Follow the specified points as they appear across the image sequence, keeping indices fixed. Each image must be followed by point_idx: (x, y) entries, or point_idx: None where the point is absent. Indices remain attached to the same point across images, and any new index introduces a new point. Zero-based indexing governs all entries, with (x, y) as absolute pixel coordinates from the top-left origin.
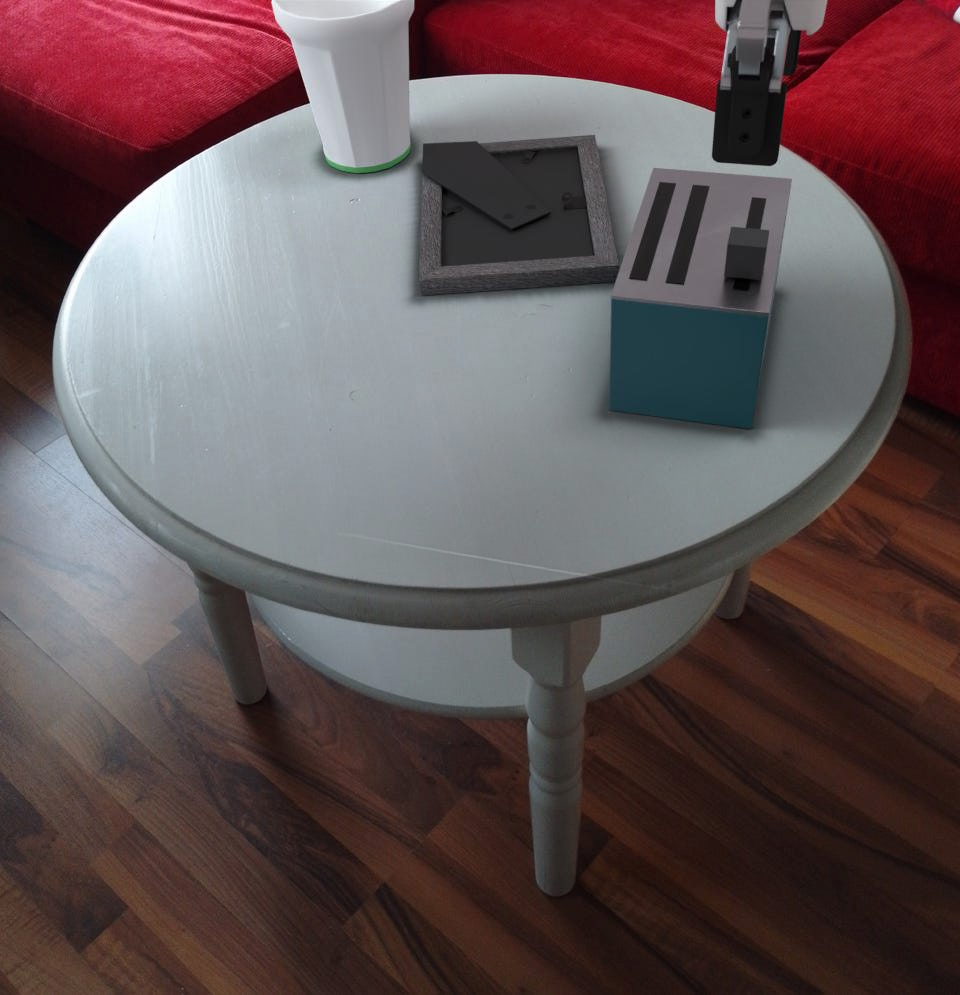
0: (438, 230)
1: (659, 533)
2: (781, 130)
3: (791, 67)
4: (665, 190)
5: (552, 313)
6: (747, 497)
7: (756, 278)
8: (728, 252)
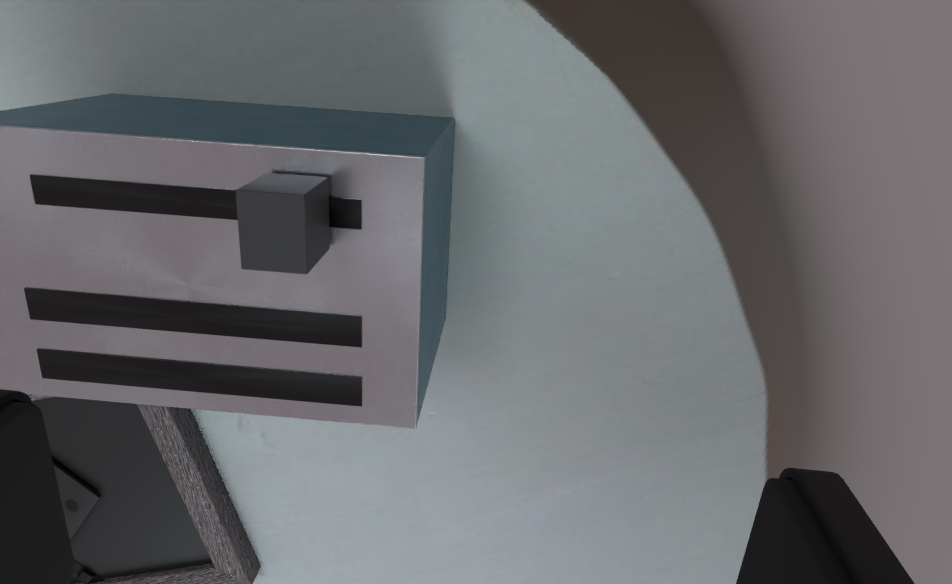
0: (135, 582)
1: (676, 233)
2: (883, 572)
3: (15, 424)
4: (67, 366)
5: None
6: (598, 117)
7: (327, 188)
8: (312, 263)
